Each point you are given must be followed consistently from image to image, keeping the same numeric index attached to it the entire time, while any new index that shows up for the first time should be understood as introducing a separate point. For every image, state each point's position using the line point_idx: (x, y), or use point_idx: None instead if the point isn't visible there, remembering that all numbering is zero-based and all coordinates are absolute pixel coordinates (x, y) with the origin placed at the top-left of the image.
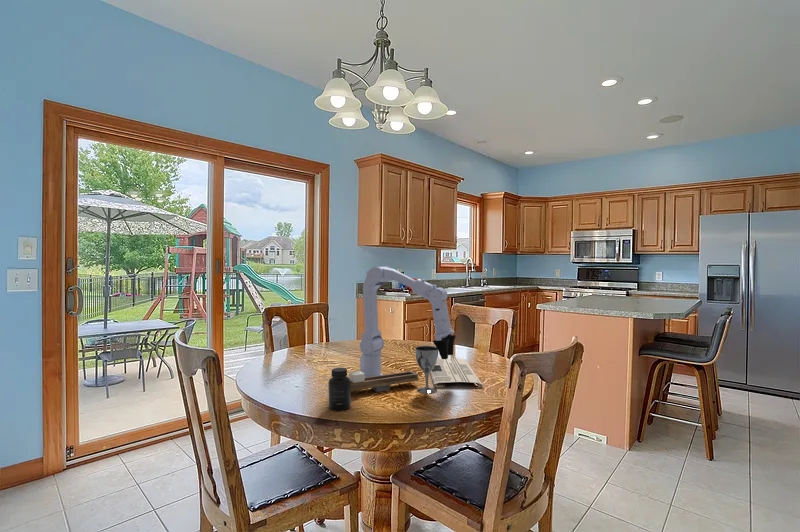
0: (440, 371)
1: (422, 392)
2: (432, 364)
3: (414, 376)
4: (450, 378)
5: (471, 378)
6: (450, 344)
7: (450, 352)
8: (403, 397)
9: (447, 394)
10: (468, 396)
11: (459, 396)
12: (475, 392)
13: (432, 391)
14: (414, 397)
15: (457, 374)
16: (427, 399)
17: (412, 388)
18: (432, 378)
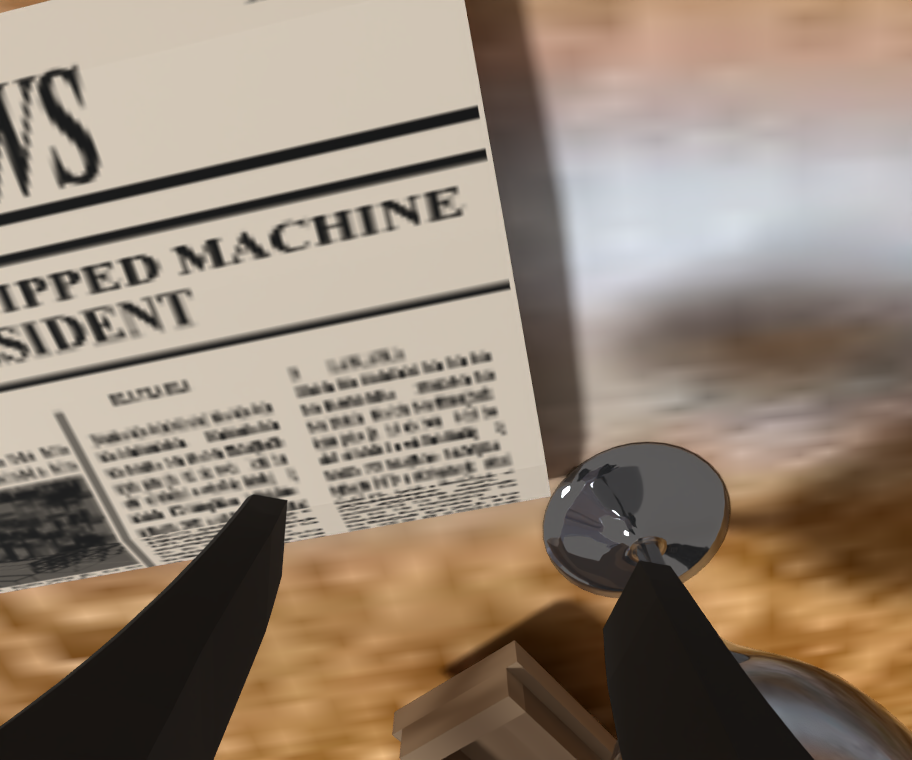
0: (105, 490)
1: (710, 551)
2: (880, 706)
3: (531, 702)
4: (378, 360)
5: (280, 83)
6: (183, 733)
7: (268, 570)
8: (827, 655)
9: (745, 338)
10: (812, 107)
11: (810, 211)
12: (658, 20)
13: (693, 479)
14: (830, 587)
15: (181, 289)
16: (888, 490)
17: (589, 632)
18: (338, 531)
